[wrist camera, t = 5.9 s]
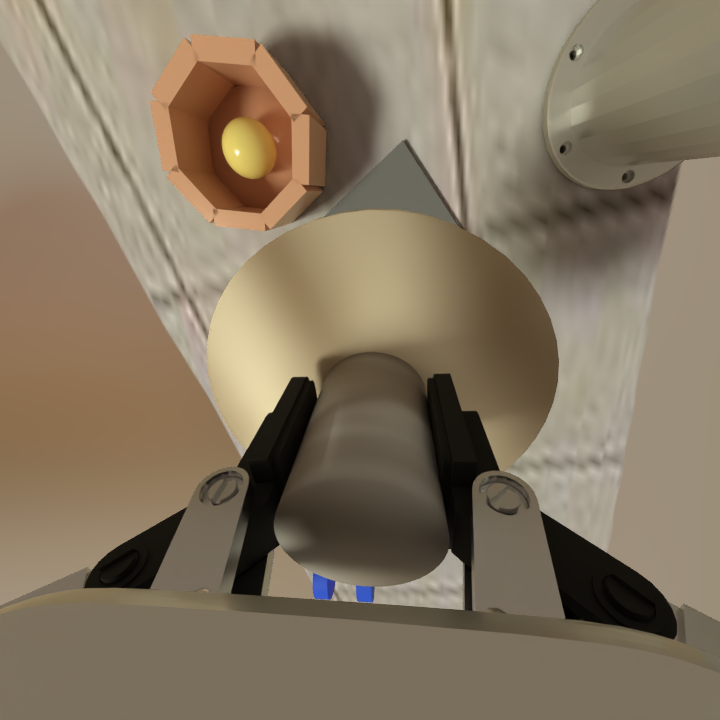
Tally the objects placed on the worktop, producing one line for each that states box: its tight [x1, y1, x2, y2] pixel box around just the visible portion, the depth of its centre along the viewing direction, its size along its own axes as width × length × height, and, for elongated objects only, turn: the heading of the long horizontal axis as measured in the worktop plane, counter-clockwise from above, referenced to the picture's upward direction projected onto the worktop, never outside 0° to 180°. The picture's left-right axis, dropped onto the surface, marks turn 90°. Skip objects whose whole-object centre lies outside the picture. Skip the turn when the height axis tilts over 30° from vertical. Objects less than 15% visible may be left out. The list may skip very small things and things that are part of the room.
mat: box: [325, 141, 458, 226], centre depth 30 cm, size 15×15×1 cm
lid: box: [207, 208, 559, 587], centre depth 10 cm, size 13×13×7 cm
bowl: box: [150, 34, 327, 231], centre depth 24 cm, size 11×11×6 cm
